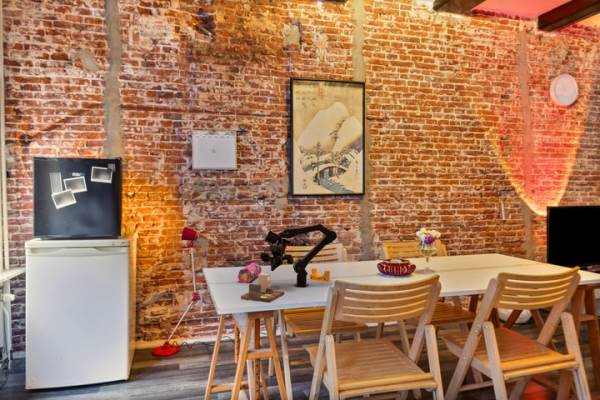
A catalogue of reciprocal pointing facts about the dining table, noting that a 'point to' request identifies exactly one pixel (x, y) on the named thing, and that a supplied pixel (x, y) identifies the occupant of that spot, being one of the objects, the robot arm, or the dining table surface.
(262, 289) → the block
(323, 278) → the pipe clamp
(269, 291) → the reading marker
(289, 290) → the dining table surface
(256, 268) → the pencil case
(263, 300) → the gauge base
